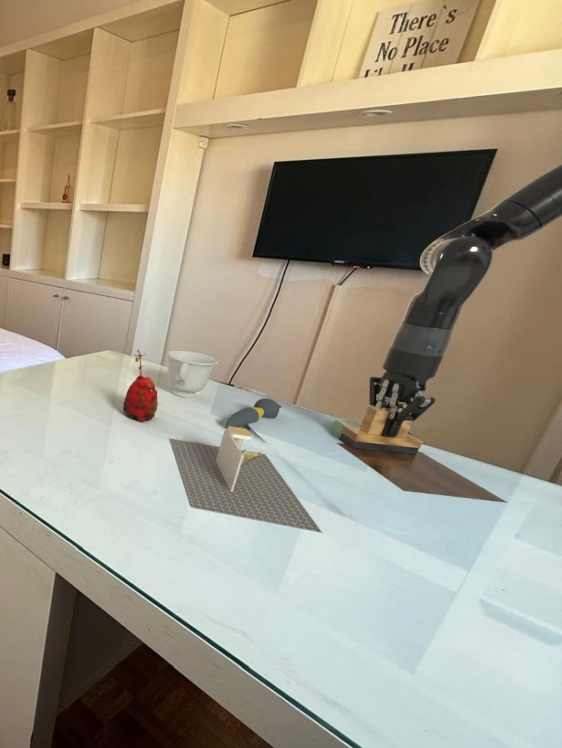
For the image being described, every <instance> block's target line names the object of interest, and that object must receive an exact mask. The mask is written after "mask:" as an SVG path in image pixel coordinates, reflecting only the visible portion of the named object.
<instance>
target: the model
mask: <svg viewBox="0 0 562 748" xmlns="http://www.w3.org/2000/svg"><path fill="white" fill-rule="evenodd" d="M252 438H253V436H252V434H251V433H250V432H249V430H248V429H247V428H244V427H239V428H238V427H231V426H229V427H225V428H224V431H223V434H222V437H221V441H220V445H219V446H218V447H219V448H218V452H217V455H216V459H215V462H216V464H217V466H218V468H219V470H220V472H221V474H222V476H223V478H224V480H225V482H226V484H227V486H228V488H229V491H230V492H233V491H234V490H235V486H236V483H237V480H238V477H239V473H240V470H241V467H243V466H245V465H246V464H248V463H250V462H251V461H253V460H255V459H256V458H258V457H259V456H260V455H261V454H262V452H261V451H258V452H257V451H251V450H247V449H246V448H244V449H243V450H242V444H243V440H246V441H251V440H252Z"/></svg>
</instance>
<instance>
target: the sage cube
mask: <svg viewBox="0 0 562 748" xmlns="http://www.w3.org/2000/svg"><path fill="white" fill-rule="evenodd" d="M343 426H350V427H361V424H360V423H359V422H357V421H355V420H346V419H334V421H333V423H332V427H331V429H330V432H331V433H332V434H333V435H335V436H336V437H338V438H340V436H341V431H342V428H343Z"/></svg>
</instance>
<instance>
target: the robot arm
mask: <svg viewBox="0 0 562 748" xmlns="http://www.w3.org/2000/svg"><path fill="white" fill-rule="evenodd" d="M561 217H562V163H561V164H559V165H557V166H556V167H554V168H552V169H550V170H548V171H547V172H544V174H542V175H540V176H539V177H537V178H535V179H534V180H532V181H530V182H529V183H527V184H526V185H524V186H522V187H521V188H520V189H518V190H517V191H515V192H513V193H512V194H511V195H509V196H507V197H505V198H504V199H503V200H501V201H499V202H498V203H497V204H496V205H494V206H493V207H492V208H490V209H489V210H487V211H486V212H484V213H482V214H481V215H478V216H476V217H474V218H472V219H470V220H468V221H467V222H464V223H463V224H461V225H459V226H457V227H455V228H453V229H452V230H450V231H449V232H447V233H445V234H443V235H442V236H440V237H439V238H437V239H435V240H434V241H433V242H431V243H430V244H429V245H428V246H427V247H426V248H425V249H424V250H423V252H422V253H421V255H420V258H419V259H420V260H419V265H420V268H421V270H422V271H423V272H424V273H425V274H427V275H428V276H429V278H428V280H427V282H426V284H425V286H424V288H423V289H422V290H421V291H419V292H416V293H415V294H413V296H412V297H411V298H410V301H409V303H408V305H407V308H406V310H405V313H404V315H403V318H402V320H401V323H400V324H399V326H398V328H397V329H396V331H395V333H394V335H393V338H392V341H391V343H390V346H389V349H388V351H387V354H386V356H385V358H384V361H383V363H382V369H383V370H385V372H384V373H383V374H382V376H371V377H369V397H368V399H369V403H368V404H369V406H372V407H382V408H391V410H390V414H389V418H388V419H387V421H386V424H385V426H384V428H383V431H382V433H381V434H382V435H383V436H385V437H392V438H393V437H395V436H396V435H397V434H398V432H399V429H400V428H401V425H402V423H403V422H404V421H412V422H415V421H416V420H417V419H419V417H421V416H422V415H423V414H424V413H425V412H426V411H428V409H430V408H431V407H432V406H433V405H434V404H435V403H436V398H435V397H433V396H429V395H428V394H426V392H425V391H426V389H427V381H428V380H430V379H433V378H434V377H436V374H437V372H438V370H439V368H440V365H441V363H442V360H443V358H444V356H445V354H446V351H447V349H448V347H449V345H450V342H451V338H452V334H453V331H454V328H455V326H456V324H457V321H458V320H459V317H460V314H461V312H462V310H463V306H464V305H465V303H466V302H467V301H468V300H469V298H470V297H471V296H472V295H473V293H474V292H475V291H476V289H477V288H478V286H479V285H480V284H481V282H482V281H483V279H484V278H485V277H486V275H487V274H488V271H489V269H490V267H491V266H492V262H493V259H494V258H493V257H494V251H495V250H497V249H498V248H500V247H501V248H502V247H504V246H505V245H508V244H511V243H516V242H520V241H522V240H525V239H527V238H529V237H531V236H533V235H534V234H536V233H537V232H539V231H541V230H542V229H544V228H545V227H548V226H549V225H551V224H552V223H554V222H555V221H557V220H558V219H561ZM399 409H402V411H401V412H400V413H398V410H399ZM410 413H411V414H410Z"/></svg>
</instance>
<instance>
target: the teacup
mask: <svg viewBox="0 0 562 748" xmlns="http://www.w3.org/2000/svg"><path fill="white" fill-rule="evenodd" d="M166 356H167V358H168V365H167V377H166V378H167V379H166V380H167V383H168V386H170V387H171V388H172V389H171V393H172V394H173V395H175V396H178V397H180V398H187V399H188V398H189V399H190V398H195V397H196V393H198V392H201V391H202V390H204V389H205V388H206V385H207V383H208V381H209V379H210V376H211V373H212V372H213V369H214V367H215V366H217V365H218V364H219V361H218V360H217V358H215V357H213V356H210V355H208V354H204V353H199V352H194V351H188V350H170V351H168V352H167V353H166Z"/></svg>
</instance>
